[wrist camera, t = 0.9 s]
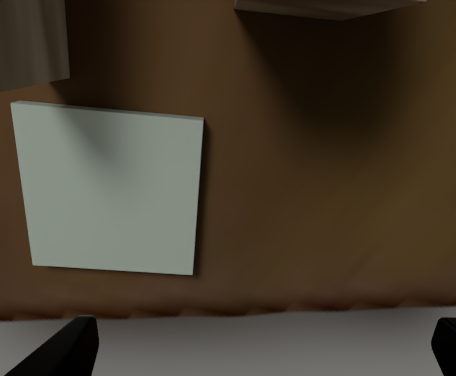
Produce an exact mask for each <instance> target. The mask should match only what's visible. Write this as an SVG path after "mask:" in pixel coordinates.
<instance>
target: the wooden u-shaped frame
mask: <svg viewBox="0 0 456 376" xmlns="http://www.w3.org/2000/svg"><path fill="white" fill-rule="evenodd" d="M67 78H70V70H69V56H68V42H67V28H66V14H65V0H0V92H1V91H6V90H12V89H17V88H22V87H27V86H32V85H37V84H42V83H47V82H52V81H57V80H62V79H67Z"/></svg>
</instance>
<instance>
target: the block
mask: <svg viewBox="0 0 456 376" xmlns="http://www.w3.org/2000/svg"><path fill="white" fill-rule="evenodd" d="M422 2H426V0H235V1H234V9H238V10H247V11H256V12H265V13H274V14H283V15H292V16H301V17H310V18H319V19H328V20H337V21H344V20H348V19H352V18H357V17H361V16H365V15H370V14H374V13H379V12H383V11H387V10H392V9H396V8H400V7H405V6H409V5H413V4H418V3H422Z"/></svg>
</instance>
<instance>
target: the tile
mask: <svg viewBox="0 0 456 376" xmlns="http://www.w3.org/2000/svg"><path fill="white" fill-rule="evenodd" d="M11 110H12V117H13V125H14V132H15V139H16V146H17V154H18V161H19V168H20V176H21V183H22V190H23V197H24V205H25V212H26V219H27V226H28V234H29V241H30V248H31V255H32V263H33V265H41V266H57V267H72V268H88V269H104V270H120V271H135V272H151V273H167V274H182V275H193V266H194V252H195V238H196V223H197V209H198V195H199V180H200V166H201V152H202V138H203V123H204V117H193V116H182V115H171V114H160V113H149V112H138V111H127V110H116V109H105V108H94V107H84V106H73V105H62V104H51V103H40V102H29V101H16V102H13V103H11Z"/></svg>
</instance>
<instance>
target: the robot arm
mask: <svg viewBox="0 0 456 376" xmlns="http://www.w3.org/2000/svg"><path fill="white" fill-rule="evenodd" d="M431 346H432V350H433V353H434V355H435V357H436V359H437V362H438V364H439V366H440V368H441V371H442V373H443V375H444V376H456V318H445V317H444V318H440V319H439V320H438V322H437V325H436V328H435V331H434V334H433V337H432V341H431ZM98 347H99V336H98V328H97V321H96V318H95V316H93V315H79V316H77V317H75V318H74V319H73V320H72V321H71V322H69V323H68V324H67V325H66V326H64V327H63V328H62V329H61V330H59V331H58V332H57V333H56V334H55V335H53V336H52V337H51V338H50V339H48V340H47V341H46V342H45V343H44V344H42V345H41V346H40V347H39V348H37V349H36V350H35V351H34V352H32V353H31V354H30V355H29V356H28V357H26V358H25V359H24V360H23V361H21V362H20V363H19V364H18V365H17V366H15V367H14V368H13V369H12V370H10V371H9V372H8V373H7V374H6V375H4V376H91V375H92V371H93V367H94V363H95V360H96V356H97V352H98Z"/></svg>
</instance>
